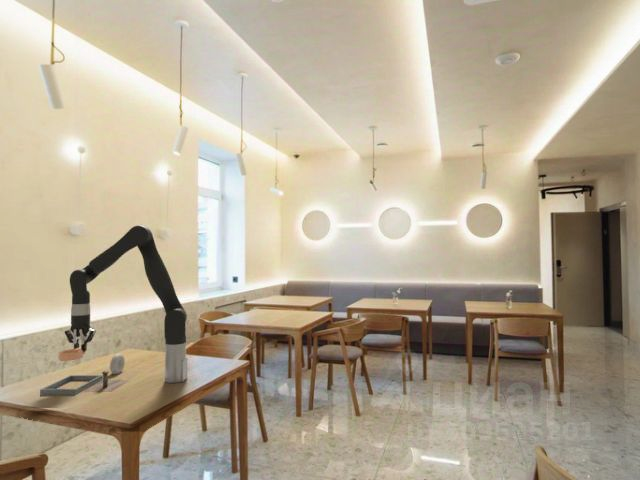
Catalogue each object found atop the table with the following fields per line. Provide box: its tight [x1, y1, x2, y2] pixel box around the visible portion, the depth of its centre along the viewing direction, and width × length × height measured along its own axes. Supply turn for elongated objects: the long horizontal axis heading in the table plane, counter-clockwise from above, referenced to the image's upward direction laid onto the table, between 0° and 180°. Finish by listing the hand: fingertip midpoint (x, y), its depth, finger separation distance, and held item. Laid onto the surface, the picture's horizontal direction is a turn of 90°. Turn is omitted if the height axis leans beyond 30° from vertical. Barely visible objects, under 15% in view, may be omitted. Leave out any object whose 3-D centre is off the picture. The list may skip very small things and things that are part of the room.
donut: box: [109, 353, 126, 375], centre depth 200 cm, size 10×4×10 cm, turn 177°
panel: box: [83, 370, 130, 393], centre depth 180 cm, size 12×16×8 cm
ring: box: [58, 346, 86, 362], centre depth 179 cm, size 8×13×3 cm, turn 179°
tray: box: [39, 374, 103, 398], centre depth 178 cm, size 15×20×3 cm
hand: (80, 352), depth 184 cm, fingers closed on ring, 2 cm apart
